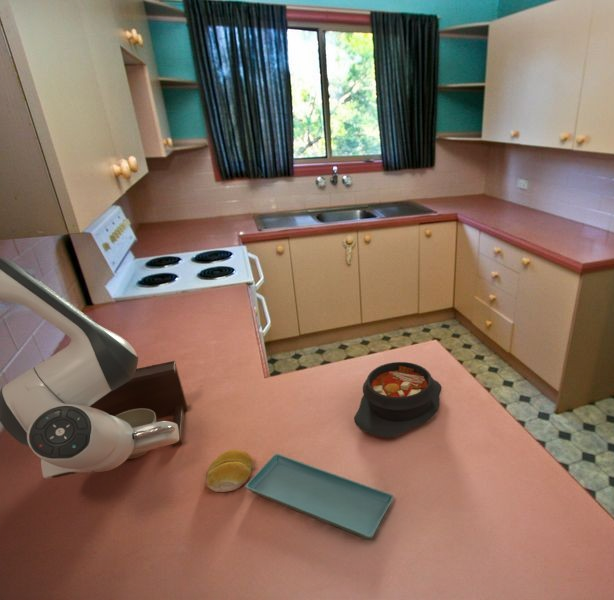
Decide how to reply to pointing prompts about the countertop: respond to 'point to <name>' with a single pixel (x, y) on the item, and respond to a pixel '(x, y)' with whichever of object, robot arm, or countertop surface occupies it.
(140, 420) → the beige bowl
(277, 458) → the rectangular tray
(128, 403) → the cup rack
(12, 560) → the countertop surface
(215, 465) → the bread roll
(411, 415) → the casserole
